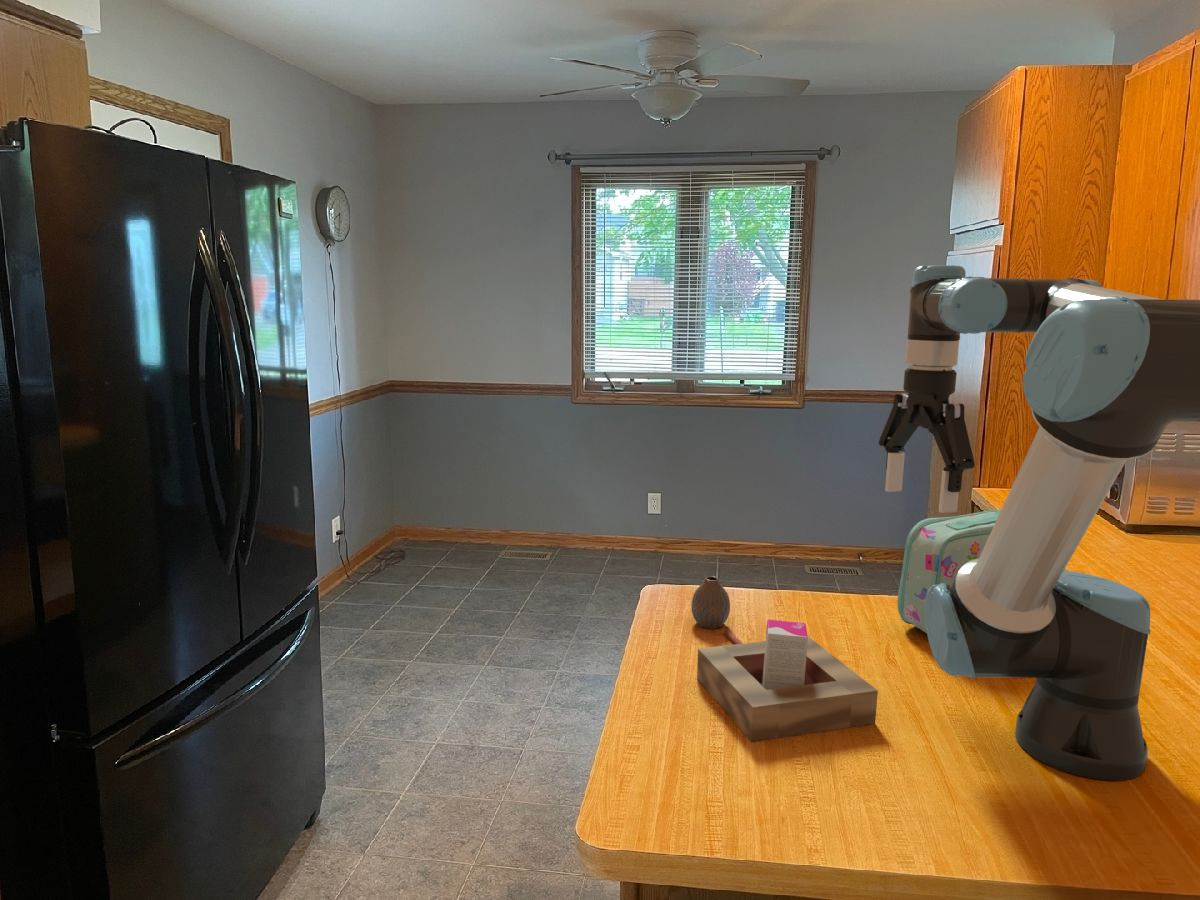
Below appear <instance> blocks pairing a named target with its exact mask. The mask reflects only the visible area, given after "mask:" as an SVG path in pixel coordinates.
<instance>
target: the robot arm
mask: <svg viewBox="0 0 1200 900" xmlns="http://www.w3.org/2000/svg"><path fill="white" fill-rule="evenodd" d="M909 293H910V296H909V297H910V298H909V312H908V313H909V314H908V327H907V328H908V329H907V339H906V348H905V349H906V350H905V357H904V363H905V365H906V366H908V367H907V368H906V369H905V370H904V372H903V373H904V376H903V388H902V389H903V391H905V392H906V393H896V394H895V395H894V396H893V397H894V398H893V403H892V404H893V405H892V408H891V411H890V412H889V415H888V418H887V421H886V423H885V426H884V428H883V430H882V433H881V436H880V437H879V440H878V444H879V446H880V447H883V448H884V450H885V451H886V459H885V460H886V461H885V462H886V463H885V470H886V474H885V476H886V477H885V485H884V487H885V488H884V492H888V493H893V492H902V491H903V482H904V470H905V468H904V467H905V456H906V453H905V452H904V451H906V449H905V446H906V444H907V443H908V441H909V440H910V439H911V438H912V436H913V434H915V432H916V430H918V428H919V427H921V428H923V429H927V430H928V433H930V434H932V436H933V438H934V440H935V443H936V445H937V448H938V450H939V452H940V455H941V458H942V460H943V462H944V465H945V467H943V469H942V471H941V481H940V490H939V491H940V493H939V503H938V512H939V513H941V514H943V513H946V514H947V513H956V512H958V507H959V506H958V503H959V495H960V493H959V492H961V490H962V483H963V475H964V474H963V472H964V471H965V470H969V469H974V468H975V466H976V463H975V459H974V455H973V451H972V446H971V441H970V437H969V434H968V433H969V432H968V428H967V425H966V424H967V423H966V421H965V405H964V404H963V403H950V401H949V400H950V399H949V398H950V396H951V395H952V394H954V393H955V392H956V384H957V371H956V370H955V369H953V368H954V367H956V366H958V359H959V350H960V349H959V345H960V340H961V334H963V335H967V334H973V335H974V334H977V335H978V334H980V333H1014V334H1015V333H1016V334H1017V333H1030V334H1034V335H1033V337H1032V339H1031V341H1030V344H1029V346H1028V348H1027V352H1026V355H1025V359H1024V365H1026V370H1025V372H1024V373H1023V374H1022V381H1023V383H1022V386H1023V391H1024V396H1025V399H1026V402H1027V404H1028V405H1029V407H1030V408H1031V413H1032V417H1033V420H1034V421H1035V423H1036V425H1037V426H1038V427H1039V428H1038V429H1037V432H1036V434H1035V436H1034V438H1033V441H1032V442H1031V445H1030V447H1029V449H1028V451H1027V453H1026V456H1025V458H1024V460H1023V462H1022V463H1021V466H1020V468H1019V470H1018V472H1017V474H1016V477H1015V479H1014V481H1013V483H1012V486H1011V487H1010V490H1009V492H1008V494H1007V497H1006V499H1005V501H1004V503H1003V505H1002V507H1001V509H1000V510H1001V512H1000V514H999V516H998V518H997V520H996V523H995V525H994V527H993V529H992V531H991V533H990V536H989V538H988V540H987V542H986V544H985V546H984V549H983V551H982V553H981V555H980V557H979V558H978V559H975V560H972V561H970V562H968V563H966V564H965V565H963V566H962V567H961V569H960V570H959V572H958V574H957V576H956V578H955V580H954V582H953V584H951V585H945V583H941V584H939V585H933V586H931V587H930V588H929V590H928V592H927V595H926V600H925V621H926V630H927V633H926V634H927V639H928V644H929V647H930V651H931V653H932V656H933V658H934V660H935V663H936V664H937V665H938V667H939V668H940V670H942V671H943V672H945V673H946V674H947V675H950V676H954V677H956V676H957V677H969V678H970V679H975V678H1001V679H1002V678H1011V679H1012V678H1013V679H1015V678H1021V679H1022V678H1023V679H1033V678H1034V679H1035V683H1034V685H1033V686H1032V689H1031V691H1030V693H1029V695H1028V696H1027V698H1026V700H1025V702H1024V704H1023V707H1022V708H1021V710H1020V711H1019V713H1018V715H1017V717H1016V721H1015V728H1014V729H1015V730H1014V731H1015V732H1014V737H1015V739H1016V742H1017V743H1018V745H1020V747H1021V748H1022V749H1023V750H1024V751H1025V752H1027V753H1028V754H1029V755H1030V756H1032V757H1034V758H1035V759H1037V760H1039V761H1040V762H1042V763H1044V764H1046V765H1048V766H1051V767H1052V768H1054V769H1057V770H1060V771H1063V772H1066V773H1069V774H1072V775H1076V776H1080V777H1083V778H1084V777H1085V778H1089V779H1096V780H1103V781H1122V780H1123V781H1125V780H1129V779H1130V780H1131V779H1134V778H1137V777H1139V776H1140V775H1143V772H1144V771H1145V770H1146V767H1147V761H1148V754H1149V751H1148V745H1147V741H1146V739H1145V738H1144V734H1143V727H1142V722H1141V721H1142V720H1141V717H1140V711H1139V708H1138V707H1139V698H1140V693H1141V692H1140V691H1141V686H1142V678H1143V673H1144V672H1143V671H1144V667H1145V666H1144V665H1145V659H1146V652H1147V645H1148V639H1149V638H1148V637H1149V635H1150V634H1151V605H1150V603H1149V601H1148V600H1147V599H1146V597H1145V596H1143V594H1142V593H1139V592H1138V591H1137V590H1135V589H1134V588H1131V587H1129V586H1127V585H1124V584H1122V583H1120V582H1117V581H1113V580H1111V579H1107V578H1104V577H1101V576H1097V575H1093V574H1089V573H1084V572H1078V571H1072V570H1065V569H1066V567H1067V566H1068V564H1069V563H1070V561H1071V559H1072V557H1073V555H1074V553H1075V552H1076V550H1077V548H1078V547H1079V544H1080V543H1081V541H1082V539H1083V537H1084V536H1085V534H1086V533H1087V531H1088V528H1089V527H1090V525H1091V523H1092V522H1093V519H1095V517H1096V514H1097V513H1098V511H1099V510H1100V507H1101V506H1102V504H1103V502H1104V501H1105V499H1106V497H1107V495H1108V493H1109V492H1110V490H1111V488H1112V486H1113V485H1114V483H1115V481H1116V479H1117V477H1118V476H1119V475H1120V473H1121V471H1122V469H1123V467H1124V465H1125V464H1126V462H1127V461H1131V460H1136V459H1139V458H1142V457H1145V456H1146V455H1148V454H1149V453H1150V452H1152V451H1153V450H1154V448H1155V446H1156V445H1157V444H1158V442H1159V440H1160V438H1161V436H1162V435H1163V433H1164V431H1165V430H1166V428H1167V427H1168V426H1169V425H1170V424H1171V423H1200V299H1169V298H1168V299H1164V298H1163V299H1162V298H1157V297H1153V296H1147V295H1141V294H1138V293H1133V292H1129V291H1128V292H1127V291H1122V290H1118V289H1111V288H1109V287H1108V288H1107V287H1103V286H1102V284H1101V283H1100V282H1098V281H1097V280H1093V279H1083V278H1077V277H1076V278H1075V277H1068V278H1063V279H1061V278H1009V277H1008V278H1007V277H1006V278H1005V277H1003V278H1000V277H984V276H966V270H965V268H964V267H963V266H961V265H942V264H941V265H939V264H938V265H937V264H935V265H920V266H917V267H916V268H914V271H913V275H912V280H911V286H910V289H909Z"/></svg>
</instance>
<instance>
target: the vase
mask: <svg viewBox="0 0 1200 900" xmlns="http://www.w3.org/2000/svg"><path fill="white" fill-rule="evenodd" d="M690 606H691V614H692V617H693V619H694V620H695V623H697V624H698V625H699V626H700V627H702V628H704V629H711V630H712V629H718V628H720V627H721V626H723V625H724V624H725V623H726V622H727V620H728V618H729V615H730V612H731V602H730V597H729V594H728V593H727V591H726V589H725V588H724V586H723V585H722V584H721V582H720V579H719V577H717V576H713V575H710V576H708V575H707V576H705V578H704V580H703V582H702V583H701V584H700V585H699V586H698V587H697V589H695V591H694V593H693V595H692V598H691V605H690Z"/></svg>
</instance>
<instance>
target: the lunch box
mask: <svg viewBox="0 0 1200 900" xmlns="http://www.w3.org/2000/svg"><path fill="white" fill-rule="evenodd" d="M1000 512H1001V509H999V510H998V509H996V510H995V509H994V510H990V509H989V510H984V511H983V510H982V511H979V512H974V513H968V514H963V515H961V514H960V515H955V516H953V515H952V516H945V517H943V516H942V517H930V518H929V517H927V518H925V519H922V520H920V521H919V522H917V523H915V525H914V526H913V527H911V529H910V531H909V533H908V534H907V537H906V539H905V543H904V553H903V560H902V568H901V573H900V581H899V586H898V593H897V611H898V615H899V617H900V618H901V621H902V622H903V623H905V624H907V625H913V626H914V627H916V628H918V630H919V629H920V630H921V631H922V632H924V633H925V634H927V630H926V621H925V600H926V595H927V592H928V590H929V588H930V587H931V586H933V585H939V584H941V583H945V585H951V584H953V582H954V580H955V578H956V576H957V574H958V572H959V570H960V569H961V567H962V566H963V565H965V564H966V563H968V562H970V561H972V560H975V559H978V558H979V557H980V555H981V553H982V551H983V549H984V546H985V544H986V542H987V540H988V538H989V536H990V533H991V531H992V529H993V527H994V525H995V523H996V520H997V518H998V516H999V514H1000Z"/></svg>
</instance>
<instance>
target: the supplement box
mask: <svg viewBox="0 0 1200 900" xmlns="http://www.w3.org/2000/svg"><path fill="white" fill-rule="evenodd" d="M765 631H766V632H765V633H766V634H765V641H766V643H765V657H764V668H763V681H762V684H761V685H762V686H763V687H764V688H765V689H766V690H770V689H778V688H786V687H793V686H801V685H804V680H805V668H806V655H807V642H808V631H807V625H806V623H805V622H797V621H785V620H777V619H767V620H766V630H765Z"/></svg>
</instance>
